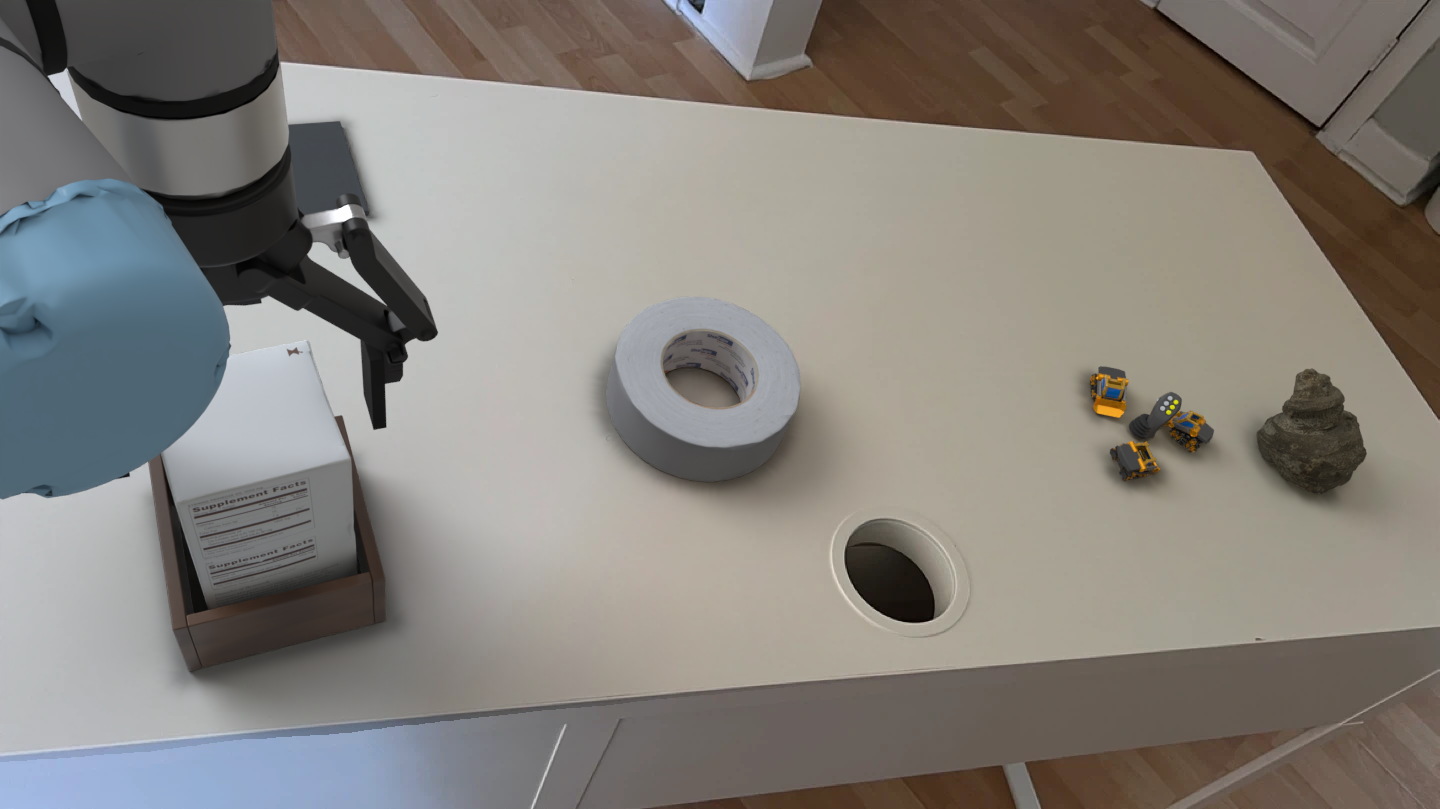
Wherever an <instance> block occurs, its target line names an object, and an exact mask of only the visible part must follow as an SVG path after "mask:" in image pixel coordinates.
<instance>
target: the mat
mask: <svg viewBox="0 0 1440 809" xmlns="http://www.w3.org/2000/svg"><path fill="white" fill-rule="evenodd" d="M288 128H289V137H288V143H289V145H290V150H291V156H292V165H293V174H294V183H295V191H296V200H297V207H298V208H299V209H300V210H301V211H302V212H303V213H304V214H305V215H308V214H313V213H318V212H324V211H329V210H334V209H336V206H335V201H336V199H337V198H338V197H339V196H341V195H343V194H347V193H352V194H355V195H357V196H358V197H359V198H360V200H361V203H362V207H363V210H364V213H365V216H366V217H367V216H369V215H370V214H369V208H368V205H367V201H366V198H365V196H364V191H363V189H362V186H361V182H360V179H359V176H358V173H357V170H356V166H355V164H354V161H353V157H352V154H351V150H350V148H349V145H348V142H347V141H348V140H347V138H346V135H345V132H344V129H343V125H342V123H341V120H336V121H335V120H334V121H321V122H305V123H294V124H291V123H289V124H288Z"/></svg>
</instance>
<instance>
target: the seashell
mask: <svg viewBox="0 0 1440 809" xmlns="http://www.w3.org/2000/svg"><path fill="white" fill-rule="evenodd" d="M1292 391H1293V393H1292V395H1291V396H1290V398H1289V399H1286V400H1285V401H1284V403H1283V405H1282V408H1281V412H1279V413H1276V414H1275V415H1273V416H1270V417H1269V418H1266V420H1265V422H1264V424H1263V425H1262V426H1261V428H1260V429H1258V431H1256V442H1257V447H1258V450H1259V453H1260V455H1261V458H1262V459H1263V460H1264V461H1265V463H1270V464H1274V465H1276V466H1277V468H1278V471H1279V472H1278V473H1279V475H1280V477H1281V478H1282V479H1283V480H1284V481H1286V482H1287V483H1290V484H1292V485H1294V486H1296V487H1298V488H1300V489H1303V490H1305V491H1307V492H1309V493H1312V494H1315V495H1317V494H1318V495H1319V494H1320V495H1323V494H1326V493H1328V492H1329V491H1332V490H1335V489H1336V488H1338V487H1342V486H1343V485H1345V484H1347V483H1349V481H1350V480H1351V479H1352V477H1353V474H1354V472H1355V471H1357V469H1358V468H1359V466H1360V465H1361V464H1362V463H1364V461H1365V460H1366V457H1367V454H1368V453H1367V449H1366V447H1365V445H1364V438H1363V435H1362V431H1361V427H1360V426H1361V425H1360V423H1359V422H1358V417H1357V415H1355V414H1353V413H1352V412H1351V411H1348V410H1345V405H1344V403H1345V401H1346V398H1345V395H1344V393H1343V392H1342V391H1341V389H1340V388H1338V387H1337V386H1335V385H1334V384H1333V383H1332V381H1331V376H1330V375H1328V374H1326V373H1320V372H1318V371H1317V370H1316V369H1315V368H1313V367H1312V368H1305V369H1304V370H1303V371H1300V372H1298V373H1296V375H1295V380H1294V387H1293V390H1292ZM1400 506H1401V505H1400Z"/></svg>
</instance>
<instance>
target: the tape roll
mask: <svg viewBox="0 0 1440 809" xmlns="http://www.w3.org/2000/svg"><path fill="white" fill-rule="evenodd" d="M614 351H615V352H614V355H613V358H612V363H611V366H610V371H609V374H608V378H607V382H606V387H605V388H606V391H605V398H606V399H605V400H606V406H607V411H608V415H609V418H610V420H611V423H612V426H613V427H614V428H615V430H616V432H617V434H618V435H619V437H620V438H621V440H622V441H623V442H624V443H625V445H626V446H627V447H628V448H629V449H630V450H631V451H632V452H633V453H635V454H636V456H638V457H639V458H640V459H642V460H643V461H645V463H647V464H648V465H650V466H652V467H654V468H656V469H657V470H659V471H661V472H664V473H665V474H669V475H671V476H674V477H677V478H680V479H684V480H688V481H694V482H703V483H704V482H705V483H714V482H722V481H723V482H724V481H728V480H732V479H737V478H741V477H743V476H746V475H748V474H750V473H752V472H754V471H755V470H757V469H758V468H760V467H761V466H763V465H764V464H765V463H766V462H767V461H768V460H769V459H770V458H771V457H772V456H773V455H774V454H775V452H776V451H777V449H778V448H779V446H780V444H781V442H782V440H783V438H784V436H785V434H786V432H787V429H788V428H789V425H790V423H791V421H792V419H793V418H794V416H795V414H796V412H797V409H798V407H799V402H800V397H801V391H802V385H801V384H802V382H801V378H802V377H801V372H800V367H799V364H798V361H797V359H796V357H795V355H794V352H793V350H792V349H791V348H790V345H789V344H788V343H787V342H786V341H785V340H784V338H783V337H782V336H781V334H779V333H778V332H777V331H776V330H775V328H774V327H773V326H771V325H770V324H768V322H766V321H765V320H764V319H763V318H761V317H760V316H758V315H756V314H755V313H753V312H751V311H750V310H747V309H746V308H743V307H741V306H739V305H737V304H734V303H732V302H729V301H726V300H722V299H719V298H716V297H708V296H695V295H694V296H693V295H692V296H677V297H675V298H670V299H666V300H663V301H660V302H656V303H654V304H652V305H650V306H648V307H646V308H645V309H642V310H641V311H640V312H639V313H637V314H636V315H635V316H634V317H633V318H632V319H631V320H630V321H629V322H628V323H627V324H626V325H625V326H624V328H623V330H622V332H620V335H619V338H618V340H617V343H616V346H615V350H614ZM690 367H691V368H698V369H703V370H707V371H710V372H711V373H712V372H713V373H714V374H716V375H718V376H720V377H721V378H723V379H724V380H725V381H727V383H729V384H730V386H731V387H732V389H734V391H735V392H736V394H737V396H738V398H739V401H740V402H739V403H737V404H734V405H730V406H724V407H714V406H705V405H701V404H698V403H695V402H693V401H691V400H689V399H688V398H686V397H685V396H684V395H681V394H680V393H679V392H678V391H677V390H676V389H675V388H674V387H673V386H672V385H671V383H670V381H669V379H668V378H667V376H666V374H667V373H669V372H671V371H673V370H677V369H680V368H681V369H682V368H690Z"/></svg>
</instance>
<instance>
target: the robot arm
mask: <svg viewBox="0 0 1440 809" xmlns="http://www.w3.org/2000/svg"><path fill="white" fill-rule="evenodd" d="M276 30H277V29H276V20H275V12H274V3H273V0H0V500H6V499H10V498H12V497H15V496H19V495H21V494H32V495H33V494H34V495H37V496H39V497H42V498H46V499H53V498H59V497H65V496H71V495H74V494H78V493H82V492H87V491H89V490H92V489H95V488H97V487H100V486H103V485H105V484H108V483H110V482H112V481H115V480H120V479H124V478H130V477H131V474H130V473H131V472H134V471H135V470H137V469H139V468H140V467H142V466H143V465H145V464H147V463H148V461H150V460H152V459H153V458H155V457H156V456H158V455H159V454H160V453H162V452H163V451H164V450H166V449H167V448H168V447H170V446H171V445H172V444H173V443H174V442H176V441H177V440H178V439H179V438H180V437H182V436H183V435H184V434H185V433H186V432H187V431H188V430H189V429H190V428H191V427H192V426H193V425H194V424H195V422H196V421H197V420H198V419H199V418H200V416H201V415H202V414H203V413H204V412H205V410H206V409H207V407H208V406H209V404H210V403H211V401H212V399H213V398H214V396H215V394H216V392H217V391H218V389H219V387H220V384H221V382H222V379H223V376H224V373H225V369H226V365H227V359H228V358H229V355H230V350H231V348H232V344H231V343H230V341H231V333H230V332H231V331H230V325H229V320H228V316H227V314H226V311H225V308H224V307H225V306H242V307H243V306H253V305H260V304H262V303H263V302H262V299H265V298H268V297H270V298H271V299H274V300H275V301H277V302H279V303H281V304H283V305H284V306H287V307H288V308H290V309H292V310H294V311H296V312H299V311H301V310H303V309H304V310H305V311H307V312H309V313H311V314H312V315H315V316H316V317H318V318H319V319H322V320H324V321H325V322H327V323H329V324H331V325H333V326H335V327H336V328H338V329H340V330H341V331H344V332H346V333H347V334H349V335H351V336H353V337H355V338H357V339H358V340H360V343H359V344H360V356H361V358H360V359H361V373H362V374H361V375H362V388H363V391H362V392H363V397H364V400H365V404H366V408H367V412H368V416H369V420H370V422H371V426H372V430H373V431H377V430H382V429H387V400H386V399H387V397H386V385H388V384H393V383H399V382H401V380H402V379H403V377H404V363H405V362H406V361H407V360H408V359H409V354H408V351H407V347H406V344H408V343H409V342H411V341H414V340H415V339H416V340H417V341H419V342H429V341H432V340H434V339H435V338H436V337H437V336H438V334H439V331H438V327H437V325H436V322H435V318H434V316H433V313H432V310H431V307H430V304H429V301H428V299H427V296H426V295H425V294H424V293H423V291H422V290H421V289H420V288H419V287H418V285H417V284H416V283H415V282H414V281H413V280H412V278H411V277H410V276H409V275H408V274H407V273H406V271H405V269H403V268H402V266H401V265H400V264H399V262H398V261H397V260H396V259H395V258H394V256H393V255H392V254H391V253H390V252H389V251H388V249H387V248H386V247H385V245H384V244H383V243H382V242H381V241H380V240H379V238H378V237H377V236H376V235H375V234H374V232H373V231H372V230H371V229H370V226H369V223H368V219H367V215H366V216H365V213H364V210H363V207H362V203H361V200H360V198H359V197H358V196H357V195H355V194H352V193H347V194H343V195H341V196H339V197H338V198H337V199H336V201H335V206H336V209H334V210H329V211H324V212H318V213H313V214H308V215H305V214H304V213H303V212H302V211H301V210H300V209H299V208H298V207H297V200H296V191H295V183H294V174H293V165H292V156H291V150H290V145H289V143H288V137H289V128H288V125H289V120H288V113H287V106H286V105H287V104H286V96H285V95H286V94H285V88H284V81H283V72H282V64H281V57H280V56H281V55H280V50H279V46H278V39H277V31H276ZM65 71H66V73H67V76H68V80H69V83H70V86H71V90H72V93H73V96H74V99H75V102H76V105H77V108H78V111H79V115H78V114H77V113H76V112H75V111H74V110H73V109H72V107H71V106H70V104H68V102H66V100H65V99H64V98H63V97H62V94H61V92H60V90H58V88H57V87H56V86H55V85H54V84H53V82H52V80H51V79H50V77H49V76H53V75H58V74H61V73H64V72H65ZM79 116H80V117H79ZM314 243H321V244H324V245H326V247H328V249H329V250H330V251H331V252H333V253H337V257H338V258H339V259H342V260H346V259H348V258H349V260H350V262H351V264H352V267H353V268H354V269H355V271H356V273H357V274H358V275H359V277H360V278H361V279H362V280H363V281H364V282H365V283H366V284H367V286H369V287H370V289H371V290H372V291H373V292H374V293H375V294H376V295H377V297H379V299H380V300H381V301H382V302H381V301H380V300H378V299H376V298H375V297H373V296H372V295H370V294H369V293H367V292H365V291H364V290H362V289H360V288H358V287H357V286H355V285H354V284H352V283H350V282H349V281H347V280H345V279H343V278H342V277H340V276H338V274H335V273H334V272H332V271H331V270H329V269H328V268H326V267H324V266H322V265H320V264H319V263H317V262H316V261H314V260H312V259H311V258H310V257H309V255H308V254H309V253H310V251H311V250H312V247H313V244H314Z"/></svg>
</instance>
